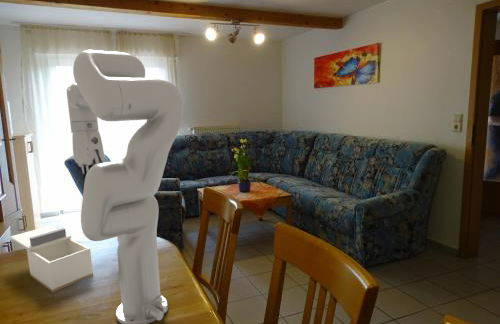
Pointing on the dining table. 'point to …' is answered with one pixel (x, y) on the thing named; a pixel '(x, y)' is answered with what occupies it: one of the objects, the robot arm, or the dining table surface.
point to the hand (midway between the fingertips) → (91, 185)
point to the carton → (60, 264)
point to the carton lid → (40, 237)
